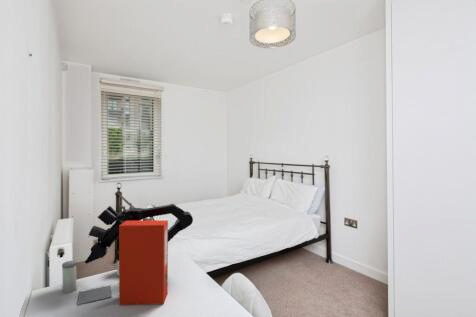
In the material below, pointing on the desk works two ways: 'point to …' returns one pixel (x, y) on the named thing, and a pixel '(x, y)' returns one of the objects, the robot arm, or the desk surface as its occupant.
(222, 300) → the desk surface
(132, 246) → the file binder
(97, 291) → the charcoal pad
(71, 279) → the tin canister
